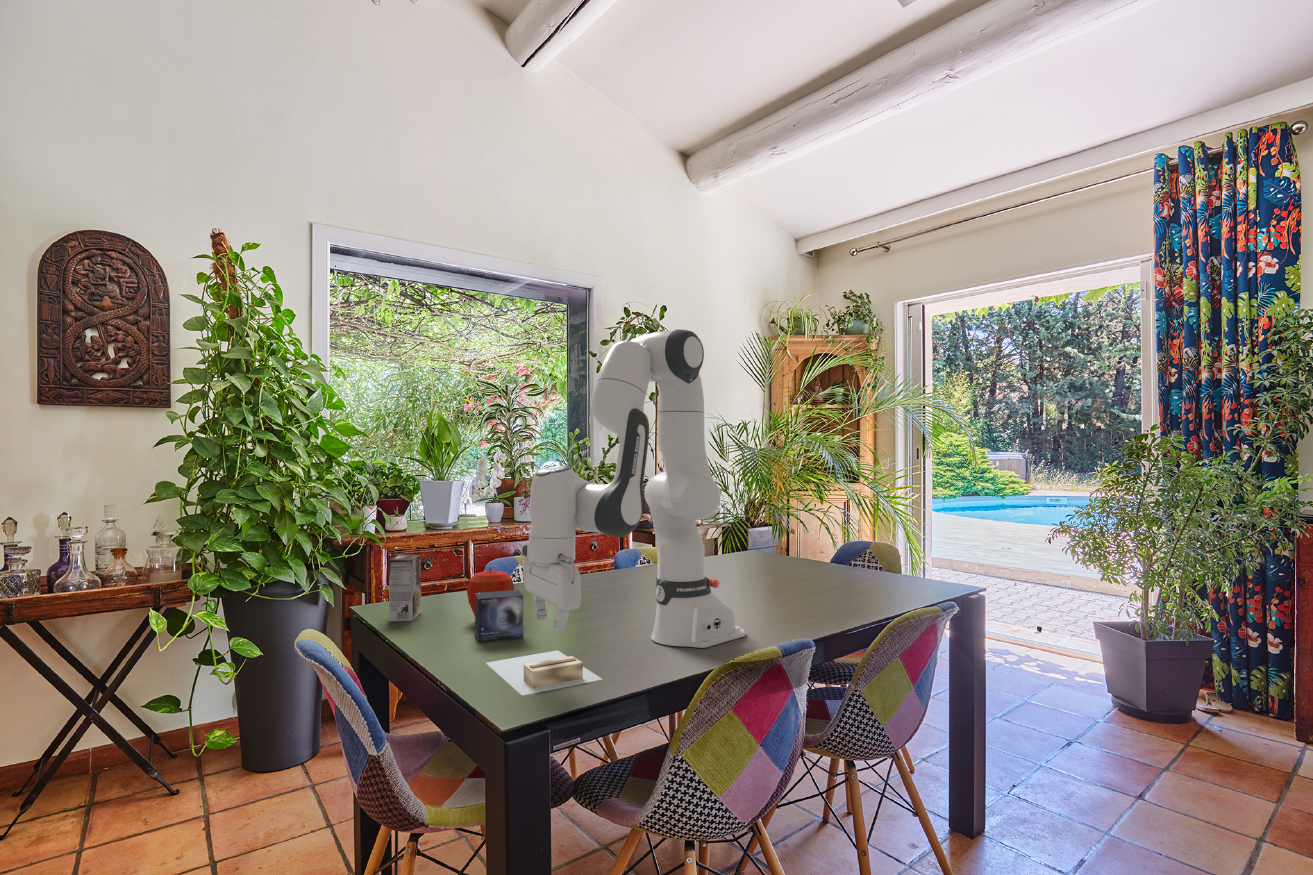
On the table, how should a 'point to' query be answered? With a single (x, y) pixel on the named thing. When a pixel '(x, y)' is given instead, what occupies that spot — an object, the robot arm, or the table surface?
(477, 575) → the apple
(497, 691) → the table surface
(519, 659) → the rubber mat
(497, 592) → the small box
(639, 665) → the table surface
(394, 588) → the coffee box
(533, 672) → the slotted wooden box
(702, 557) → the robot arm
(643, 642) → the table surface
